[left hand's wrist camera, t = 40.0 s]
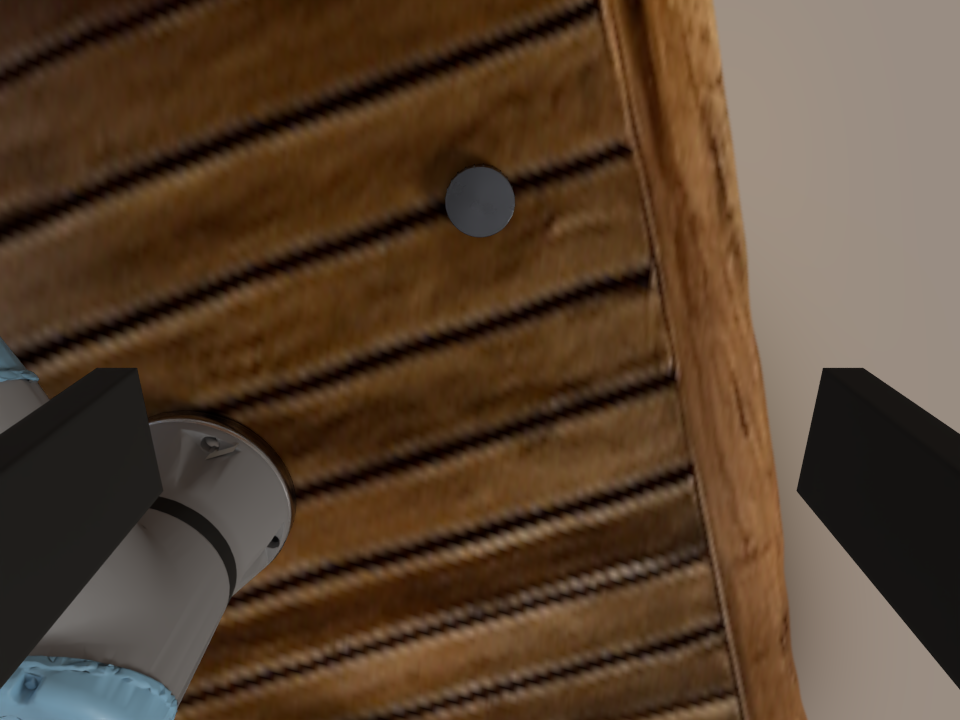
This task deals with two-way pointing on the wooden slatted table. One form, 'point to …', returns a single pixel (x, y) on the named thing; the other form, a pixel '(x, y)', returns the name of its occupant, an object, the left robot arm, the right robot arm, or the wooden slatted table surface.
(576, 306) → the wooden slatted table surface
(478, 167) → the cap
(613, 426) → the wooden slatted table surface
